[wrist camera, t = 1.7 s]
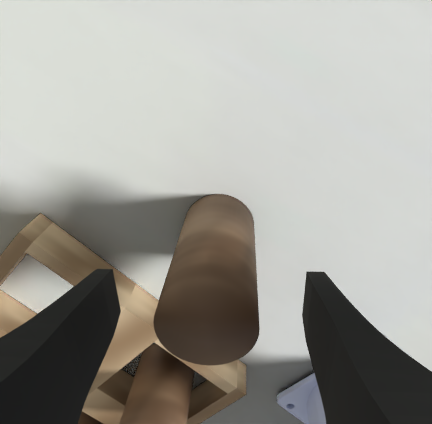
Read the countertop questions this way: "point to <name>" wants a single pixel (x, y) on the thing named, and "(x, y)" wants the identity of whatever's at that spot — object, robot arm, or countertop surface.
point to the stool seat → (123, 343)
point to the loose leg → (211, 285)
